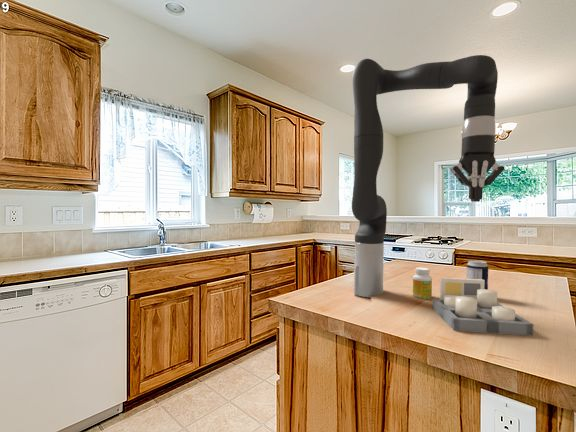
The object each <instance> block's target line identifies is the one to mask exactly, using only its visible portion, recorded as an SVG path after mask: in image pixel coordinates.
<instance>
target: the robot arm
mask: <svg viewBox="0 0 576 432" xmlns="http://www.w3.org/2000/svg"><path fill="white" fill-rule="evenodd" d="M498 75H499V74H498V67H497V65H496V61H495V60H494V58H493V57H491V56H490V55H486V54H484V55H483V54H477V55H470V56H466V57H462V58H458V59H455V60H452V61H437V62H436V61H435V62H428V63H427V62H426V63H421V64H418V65H416V66H412V67H410V68H406V69H402V70H401V69H400V70H399V69H398V70H392V69H391V70H390V69H384V68H383V67H382V66H381V65H380V64H379V63H378V62H376V60H374V59H371V58H363V59H362V60H360V61H359V62H357V64H356V65H355V67H354V69H353V71H352V76H351V77H352V78H351V81H352V93H353V103H354V104H353V105H354V119H353V120H354V123H353V126H354V130H353V131H354V133H353V134H354V135H353V158H354V159H353V161H354V162H353V164H354V165H353V166H354V167H353V168H354V169H353V171H354V172H353V173H354V174H353V175H354V177H353V190H352V198H351V199H352V200H351V212H352V214H353V217H354V218H355V219H356V220H357V221H359V224H358V225H359V226H358V229H357V231H356V232H355V235H354V263H353V292H354V293H353V294H354V296H358V297H362V298H371V296H380V295H382V294H384V257H385V256H384V250H385V249H384V248H385V246H384V245H385V244H384V239H385V236H386V232H387V218H388V217H387V215H388V212H387V209H388V208H387V204H386V201H385V199H384V198H383V197H382V196H381V195H380V194H378V192H377V191H378V190H377V177H378V173H379V169H380V166H381V163H382V158H383V155H384V129H383V123H382V119H381V116H380V112H379V108H378V102H377V95H383V94H386V93H393V92H400V91H410V90H413V91H414V90H441V89H442V90H444V89H445V90H446V89H450V88H453V86H454V85H462V84H463V85H464V84H466V85H467V96H466V98H467V99H466V100H465V103H464V107H463V109H464V110H463V125H462V129H461V132H462V133H461V153H460V154H461V155H460V156H461V157H460V158H459V162H458V163H457V164H455V165H454V166H452V167H450V168H449V169H450V172H452V174H453V175H454V176H455V178H456V179H457V180H458V182H459V183H460V184H461V185H462V186H466V187H467V188H468V199H469V200H470V202H476V203H477V202H480V201H481V200H483V193H484V187H485V186H490V185H491V184H493V182H494V181H495V180H496V179H497V178H499V176H500V175H501V174H502V172H503V171H504V170H505V166H504V165H500V164H499V163H497V160H496V157H495V147H496V146H495V145H496V144H495V143H496V120H495V119H496V117H495V116H496V94H497V87H498V77H499V76H498ZM463 170H464V172H465V173H466V175H465V173H464V172H463ZM489 171H491V173H489ZM488 173H489V175H488V176H487V174H488Z"/></svg>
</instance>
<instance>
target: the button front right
mask: <svg viewBox="0 0 576 432" xmlns="http://www.w3.org/2000/svg"><path fill="white" fill-rule="evenodd" d="M503 306H504V305H502V306H493V307H492V317H493V318H494V319H495V320H504V321H515V314H516V309H514V308H511V307H506V306H504V307H503Z"/></svg>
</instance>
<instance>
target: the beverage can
mask: <svg viewBox="0 0 576 432" xmlns="http://www.w3.org/2000/svg"><path fill="white" fill-rule="evenodd" d="M466 279H481V280H485V284H484V289H487V290H489V265H488V263H487V261H483V260H477V259H475V260H473V259H472V260H471V259H470V260H468V262H467V264H466Z"/></svg>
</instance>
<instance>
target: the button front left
mask: <svg viewBox="0 0 576 432" xmlns="http://www.w3.org/2000/svg"><path fill="white" fill-rule="evenodd" d="M455 315H456V316H458V317H461V318H471V319H476V318H477V299H475V298H471V297H466V296H457V297H456V302H455Z"/></svg>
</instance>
